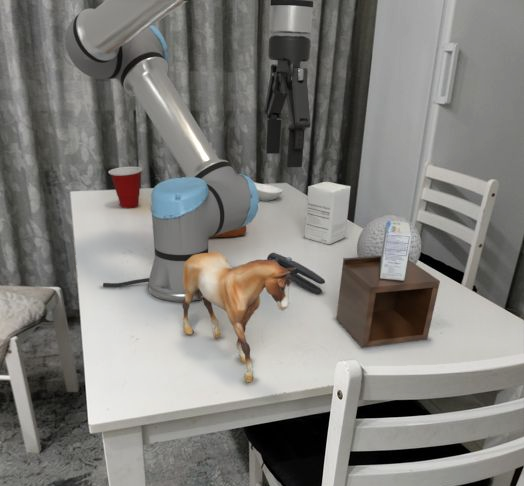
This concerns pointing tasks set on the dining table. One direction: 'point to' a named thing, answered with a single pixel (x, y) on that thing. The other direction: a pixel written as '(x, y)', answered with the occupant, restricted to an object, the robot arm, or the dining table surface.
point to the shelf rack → (385, 303)
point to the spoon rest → (267, 192)
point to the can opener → (299, 269)
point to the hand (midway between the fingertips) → (283, 159)
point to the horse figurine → (233, 292)
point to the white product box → (327, 212)
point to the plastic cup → (127, 185)
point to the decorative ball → (374, 237)
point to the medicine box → (395, 250)
